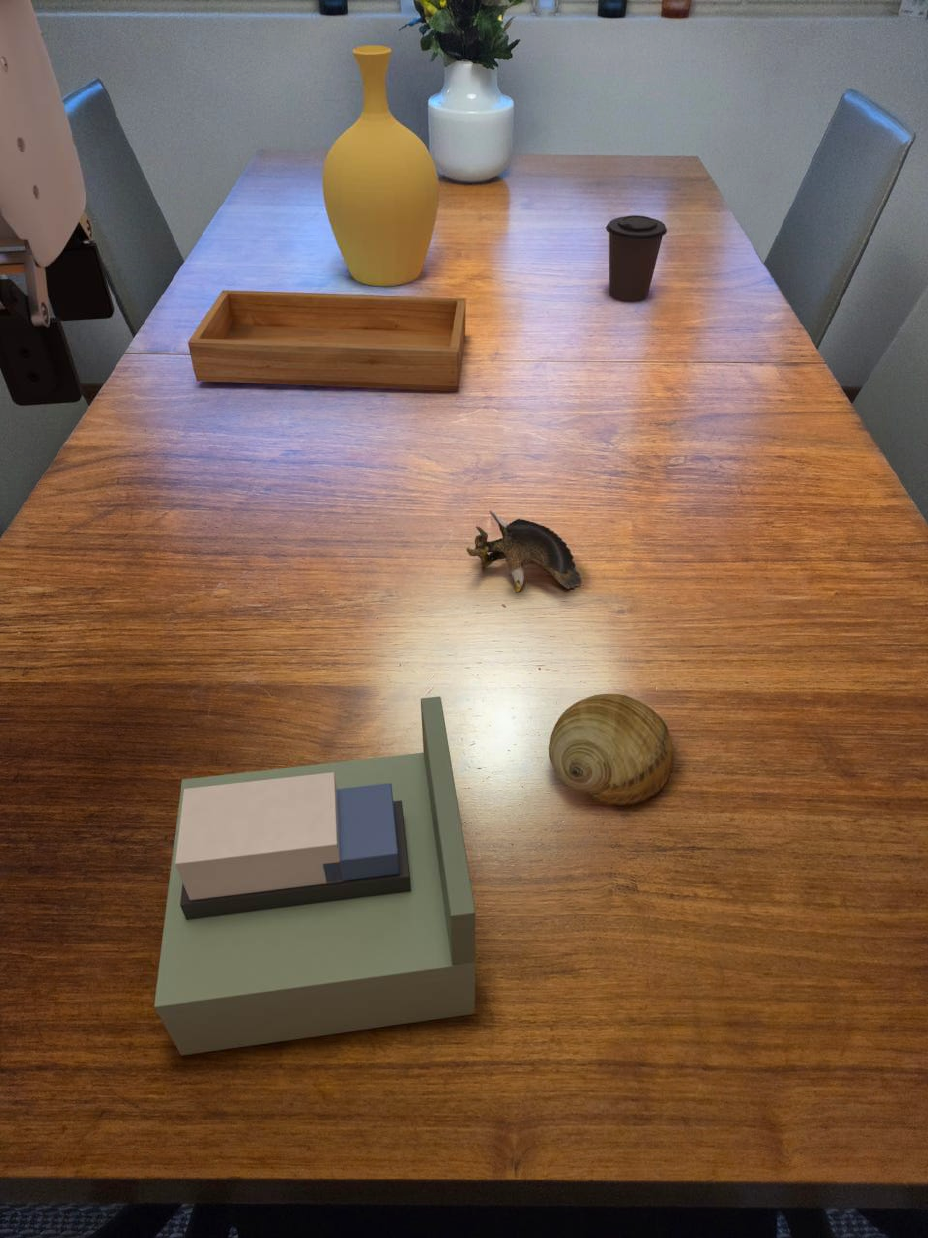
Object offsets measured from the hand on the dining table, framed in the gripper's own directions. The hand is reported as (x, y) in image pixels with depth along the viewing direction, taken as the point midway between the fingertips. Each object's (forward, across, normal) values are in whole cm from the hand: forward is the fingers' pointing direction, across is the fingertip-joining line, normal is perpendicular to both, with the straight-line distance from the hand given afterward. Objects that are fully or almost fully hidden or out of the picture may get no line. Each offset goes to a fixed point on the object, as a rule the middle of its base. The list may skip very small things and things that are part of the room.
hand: (69, 356), depth 46 cm
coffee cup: (+28, -71, +54) cm, 94 cm away
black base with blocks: (+22, +18, +9) cm, 30 cm away
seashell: (+28, +9, +30) cm, 42 cm away
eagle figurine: (+28, -12, +28) cm, 42 cm away
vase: (+28, -84, +21) cm, 91 cm away
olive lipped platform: (+28, +18, +10) cm, 35 cm away
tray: (+28, -56, +13) cm, 64 cm away
